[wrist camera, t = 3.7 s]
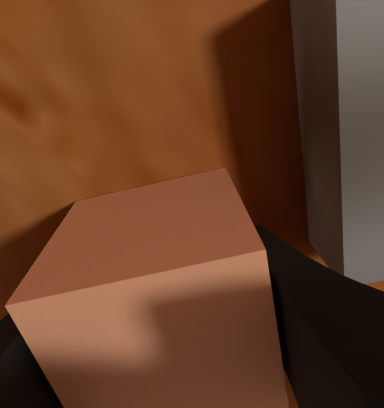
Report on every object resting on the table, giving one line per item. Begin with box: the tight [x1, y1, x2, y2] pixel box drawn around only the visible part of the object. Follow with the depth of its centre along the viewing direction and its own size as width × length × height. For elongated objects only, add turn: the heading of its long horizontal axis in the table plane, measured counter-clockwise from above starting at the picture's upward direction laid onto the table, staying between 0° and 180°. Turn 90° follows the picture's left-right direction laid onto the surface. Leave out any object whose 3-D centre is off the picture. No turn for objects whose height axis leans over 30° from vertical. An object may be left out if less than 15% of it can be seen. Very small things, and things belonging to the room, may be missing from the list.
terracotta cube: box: [5, 168, 289, 408], centre depth 9 cm, size 5×5×5 cm
